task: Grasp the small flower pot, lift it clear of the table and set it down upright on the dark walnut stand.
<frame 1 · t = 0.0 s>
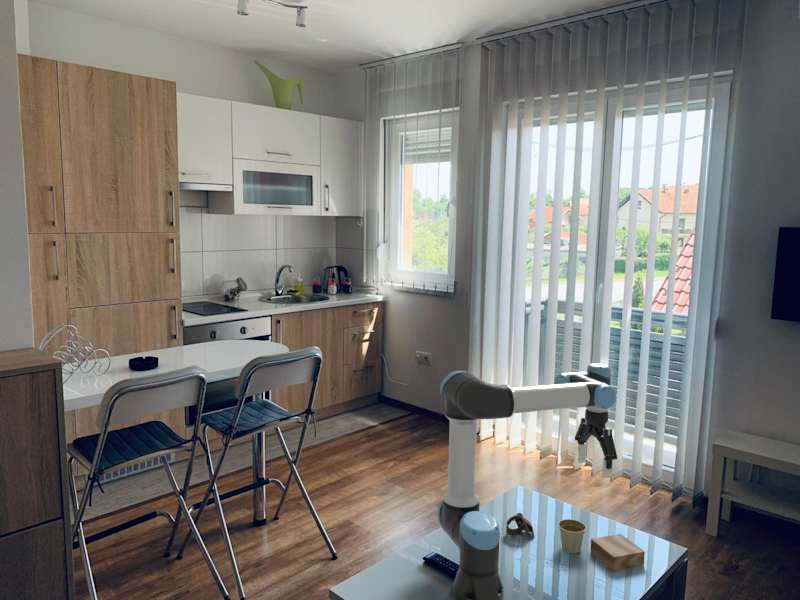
hand: (593, 469, 203), 28 cm above the table, fingers open, 13 cm apart
broken clay jug: (520, 535, 214), on the table
flower pot: (570, 549, 205), on the table
walnut stand: (616, 559, 199), on the table
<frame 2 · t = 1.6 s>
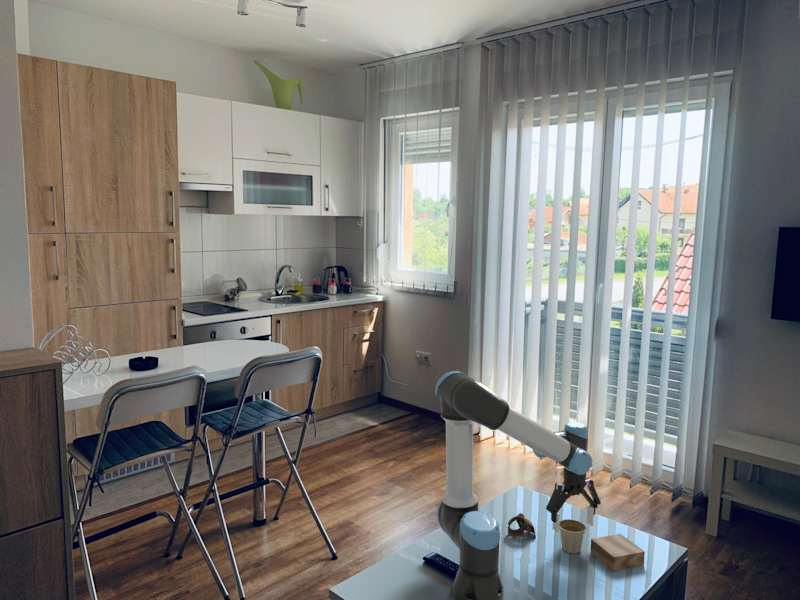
hand: (572, 527, 204), 8 cm above the table, fingers open, 13 cm apart
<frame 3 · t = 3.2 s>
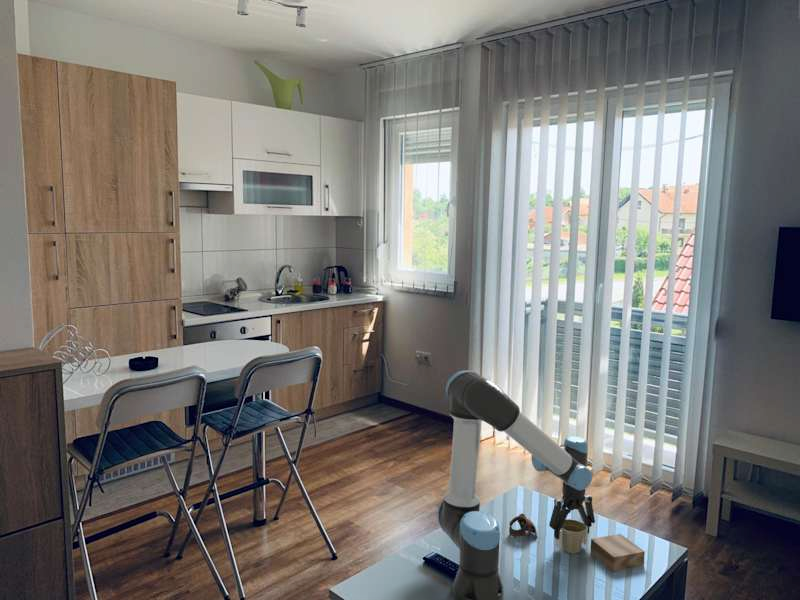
hand: (571, 544, 205), 2 cm above the table, fingers closed on flower pot, 9 cm apart
flower pot: (570, 549, 205), on the table, touching gripper
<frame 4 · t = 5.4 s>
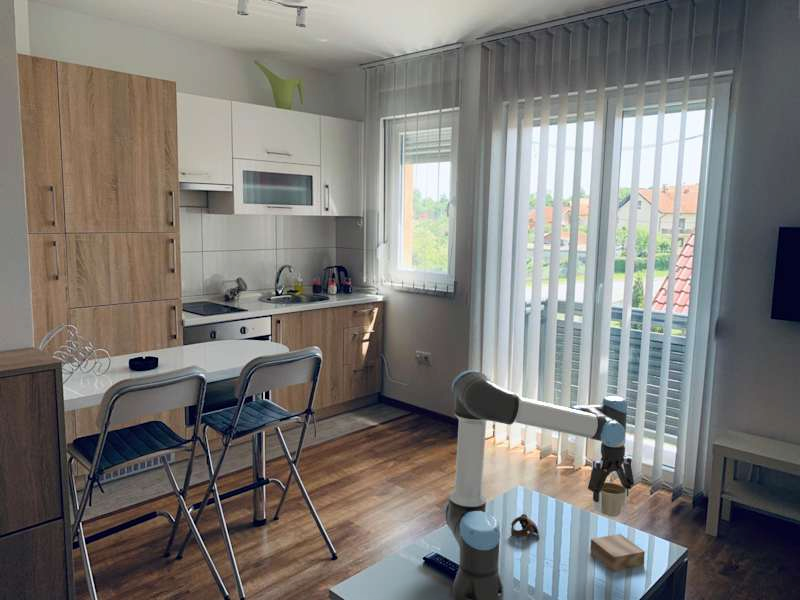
hand: (610, 508, 198), 17 cm above the table, fingers closed on flower pot, 9 cm apart
flower pot: (609, 513, 199), point 15 cm above the table, touching gripper
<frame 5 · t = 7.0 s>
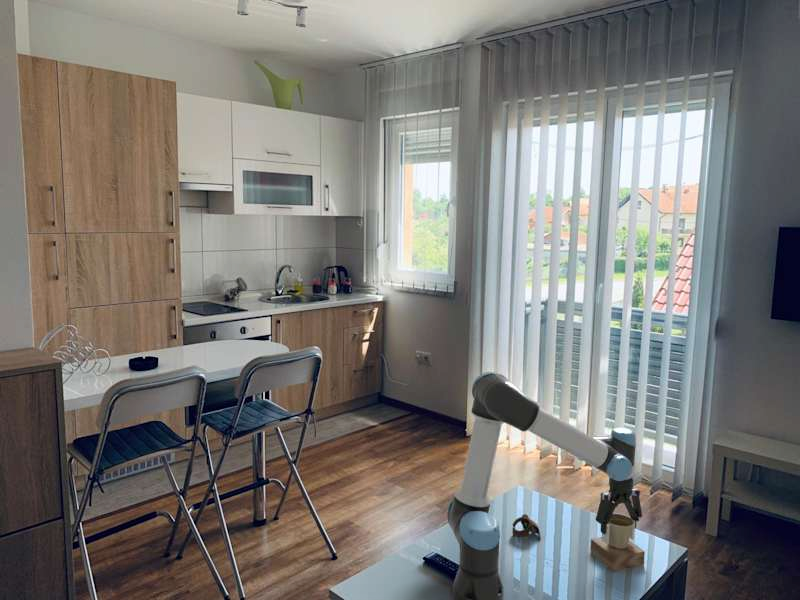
hand: (617, 539, 198), 7 cm above the table, fingers closed on flower pot, 9 cm apart
flower pot: (617, 544, 198), point 5 cm above the table, touching gripper
when the fingers open (7 cm above the table, at t = 7.9 s): flower pot stays where it is, resting on walnut stand.
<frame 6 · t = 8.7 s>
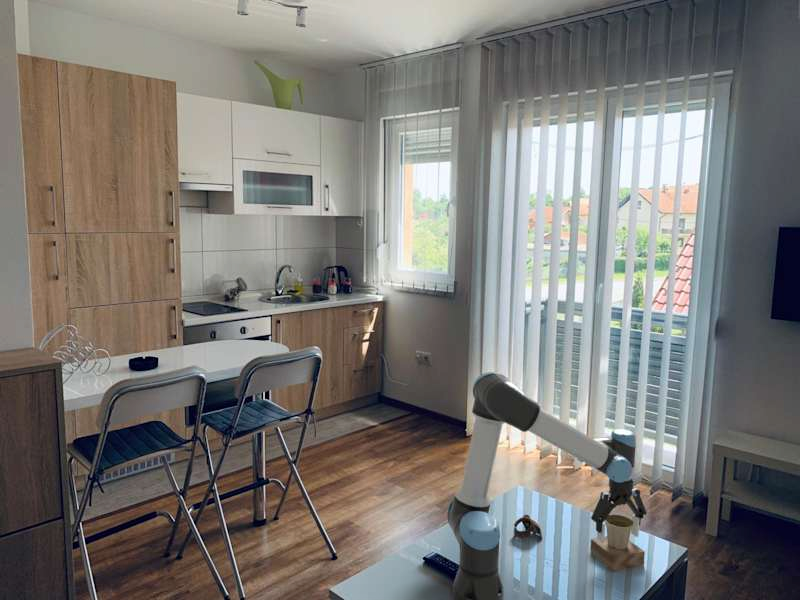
hand: (617, 537, 198), 8 cm above the table, fingers open, 13 cm apart
flower pot: (617, 545, 198), point 5 cm above the table, touching walnut stand
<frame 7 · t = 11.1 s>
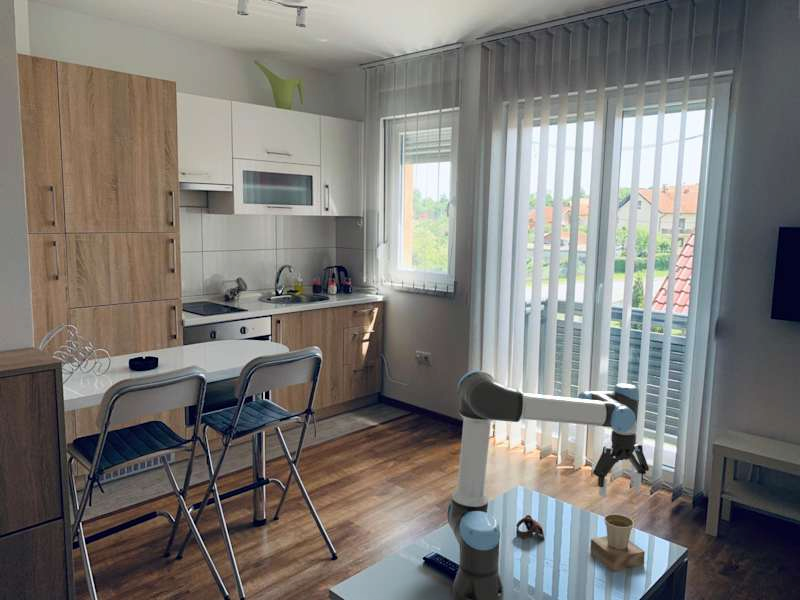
hand: (619, 493, 196), 23 cm above the table, fingers open, 13 cm apart
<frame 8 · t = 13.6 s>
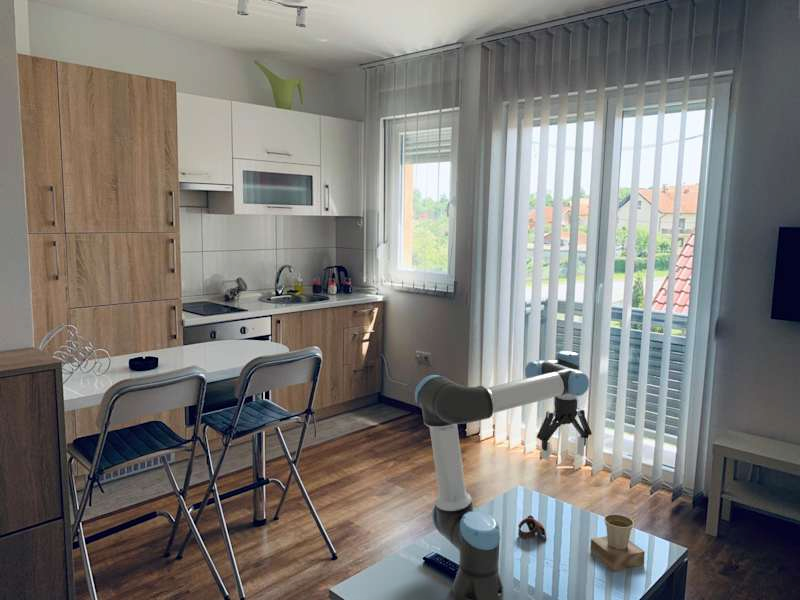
hand: (563, 457, 204), 32 cm above the table, fingers open, 13 cm apart
at the end: flower pot inside the target area on the walnut stand (0.0 cm from its centre), point 4.8 cm above the walnut stand's base; flower pot tilted 0°; the gripper is holding nothing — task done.
